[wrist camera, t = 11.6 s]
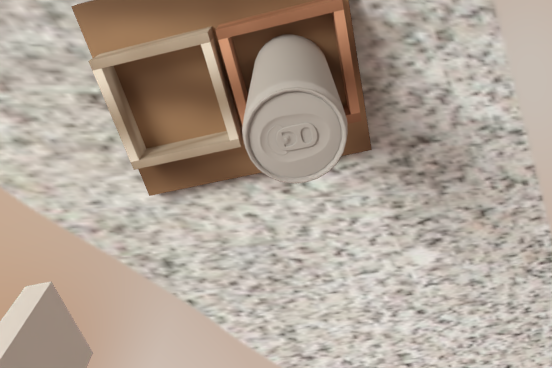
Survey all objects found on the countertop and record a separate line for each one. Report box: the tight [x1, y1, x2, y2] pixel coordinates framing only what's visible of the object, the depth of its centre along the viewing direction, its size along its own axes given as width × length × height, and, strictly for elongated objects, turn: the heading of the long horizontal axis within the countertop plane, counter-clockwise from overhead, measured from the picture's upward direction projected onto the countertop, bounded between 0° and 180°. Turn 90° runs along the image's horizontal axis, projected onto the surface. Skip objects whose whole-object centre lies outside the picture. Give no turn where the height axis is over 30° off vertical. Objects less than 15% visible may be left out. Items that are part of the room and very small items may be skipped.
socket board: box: [72, 0, 371, 196], centre depth 32 cm, size 14×17×3 cm
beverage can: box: [242, 34, 348, 183], centre depth 26 cm, size 5×5×12 cm
